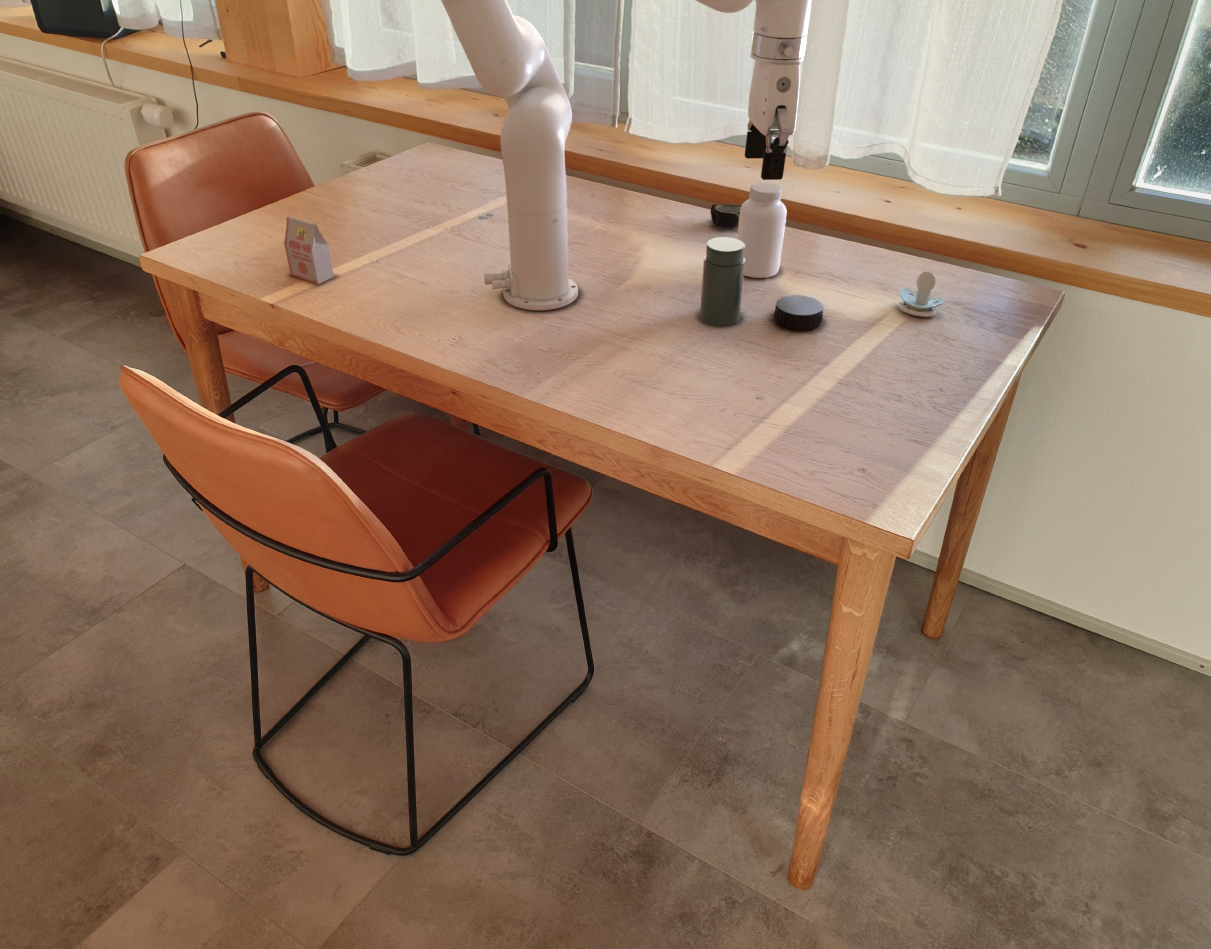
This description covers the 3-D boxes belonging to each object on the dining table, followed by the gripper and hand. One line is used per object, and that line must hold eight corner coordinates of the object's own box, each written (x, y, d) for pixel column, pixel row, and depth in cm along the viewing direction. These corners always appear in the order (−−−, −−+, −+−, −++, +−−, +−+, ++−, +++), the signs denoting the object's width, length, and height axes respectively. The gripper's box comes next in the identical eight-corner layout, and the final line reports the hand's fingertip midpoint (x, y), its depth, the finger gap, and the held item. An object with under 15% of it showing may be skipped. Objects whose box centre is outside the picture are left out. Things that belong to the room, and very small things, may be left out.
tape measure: (744, 220, 186) (746, 201, 184) (746, 233, 180) (748, 214, 178) (709, 219, 186) (711, 200, 184) (711, 232, 181) (712, 213, 178)
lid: (812, 309, 154) (814, 293, 152) (827, 330, 148) (830, 313, 146) (768, 311, 153) (770, 296, 152) (781, 333, 147) (783, 316, 146)
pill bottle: (778, 281, 163) (788, 196, 154) (732, 277, 164) (739, 193, 155) (780, 263, 169) (790, 180, 160) (736, 259, 170) (743, 177, 161)
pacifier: (931, 323, 150) (946, 309, 154) (939, 288, 146) (954, 274, 150) (889, 311, 154) (904, 297, 158) (895, 276, 150) (911, 262, 154)
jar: (704, 327, 149) (710, 253, 141) (695, 309, 154) (700, 237, 146) (743, 324, 149) (751, 251, 142) (733, 307, 155) (740, 235, 147)
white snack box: (306, 267, 166) (295, 213, 161) (334, 276, 164) (323, 221, 158) (290, 275, 164) (279, 220, 158) (318, 284, 161) (307, 228, 155)
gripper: (823, 61, 125) (803, 187, 136) (786, 34, 139) (771, 150, 149) (768, 61, 125) (753, 188, 135) (737, 33, 138) (725, 150, 148)
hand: (762, 168), depth 142 cm, fingers open, 9 cm apart
